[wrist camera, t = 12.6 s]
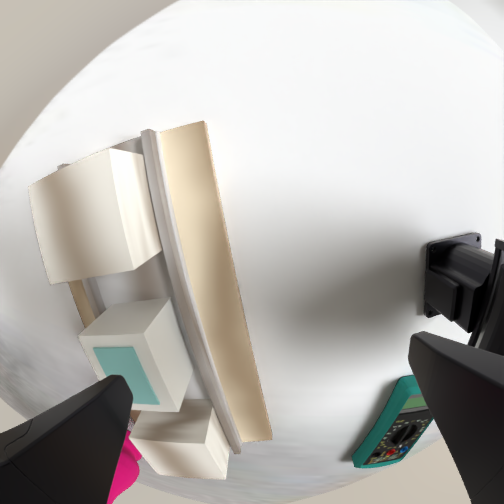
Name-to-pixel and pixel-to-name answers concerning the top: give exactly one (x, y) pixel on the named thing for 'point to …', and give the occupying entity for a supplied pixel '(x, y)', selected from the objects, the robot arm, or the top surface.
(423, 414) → the digital multimeter
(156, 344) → the block
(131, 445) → the pepper mill
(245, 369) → the rail panel
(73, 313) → the top surface
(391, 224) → the top surface
